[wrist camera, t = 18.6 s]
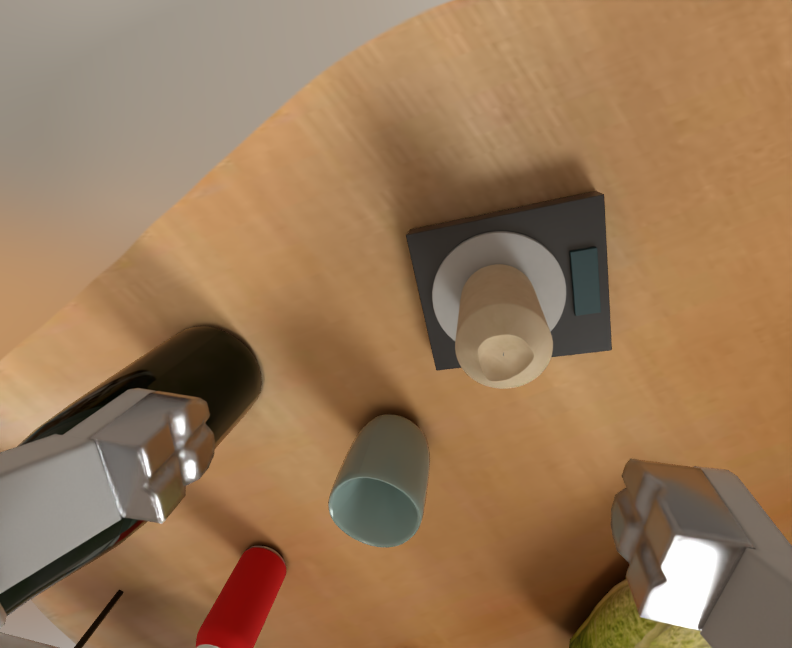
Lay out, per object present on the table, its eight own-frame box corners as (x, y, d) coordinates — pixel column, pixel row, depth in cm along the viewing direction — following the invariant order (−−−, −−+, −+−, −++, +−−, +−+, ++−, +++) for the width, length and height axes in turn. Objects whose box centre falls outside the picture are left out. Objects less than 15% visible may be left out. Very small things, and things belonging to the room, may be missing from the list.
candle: (503, 343, 33) (512, 418, 24) (446, 305, 32) (434, 367, 23) (550, 290, 30) (580, 352, 21) (490, 248, 30) (495, 293, 21)
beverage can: (266, 534, 52) (210, 636, 41) (299, 565, 53) (253, 672, 43) (237, 549, 55) (177, 650, 44) (269, 578, 56) (219, 683, 45)
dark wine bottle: (230, 308, 40) (-513, 805, 10) (283, 396, 43) (-161, 973, 13) (153, 340, 43) (-577, 784, 13) (207, 420, 46) (-283, 923, 16)
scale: (410, 229, 33) (404, 236, 31) (595, 190, 30) (606, 195, 27) (438, 358, 38) (435, 374, 35) (604, 338, 34) (614, 354, 32)
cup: (347, 440, 44) (312, 518, 35) (380, 389, 40) (351, 459, 31) (410, 475, 44) (393, 561, 35) (448, 427, 40) (439, 508, 31)
